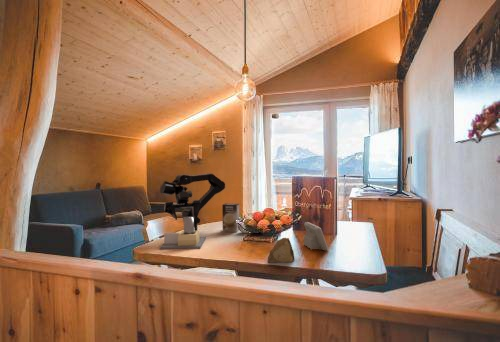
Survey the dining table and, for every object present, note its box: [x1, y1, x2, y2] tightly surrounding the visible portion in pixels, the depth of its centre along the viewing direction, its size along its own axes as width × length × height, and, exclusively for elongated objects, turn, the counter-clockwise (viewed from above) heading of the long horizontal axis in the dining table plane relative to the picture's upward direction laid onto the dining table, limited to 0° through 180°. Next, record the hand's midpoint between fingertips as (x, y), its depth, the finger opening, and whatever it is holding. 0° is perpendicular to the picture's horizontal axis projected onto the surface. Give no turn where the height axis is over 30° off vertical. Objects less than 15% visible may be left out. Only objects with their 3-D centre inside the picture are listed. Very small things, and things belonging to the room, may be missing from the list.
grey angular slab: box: [303, 221, 329, 252], centre depth 133 cm, size 16×9×11 cm, turn 0°
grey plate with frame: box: [159, 228, 207, 250], centre depth 142 cm, size 19×19×6 cm
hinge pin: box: [182, 217, 194, 234], centre depth 139 cm, size 5×5×12 cm
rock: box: [267, 237, 295, 263], centre depth 114 cm, size 11×9×10 cm
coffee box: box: [222, 202, 240, 233], centre depth 168 cm, size 9×6×16 cm
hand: (185, 218), depth 146 cm, fingers open, 9 cm apart
